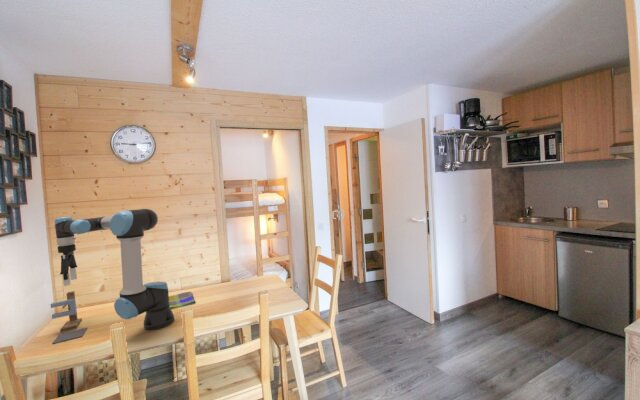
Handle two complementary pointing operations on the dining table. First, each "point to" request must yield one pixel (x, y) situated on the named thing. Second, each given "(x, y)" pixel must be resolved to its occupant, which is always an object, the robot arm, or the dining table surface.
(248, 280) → the dining table surface
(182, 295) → the green and purple book
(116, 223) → the robot arm
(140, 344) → the dining table surface
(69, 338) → the mat
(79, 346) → the dining table surface
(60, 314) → the c link
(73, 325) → the stand
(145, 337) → the dining table surface
